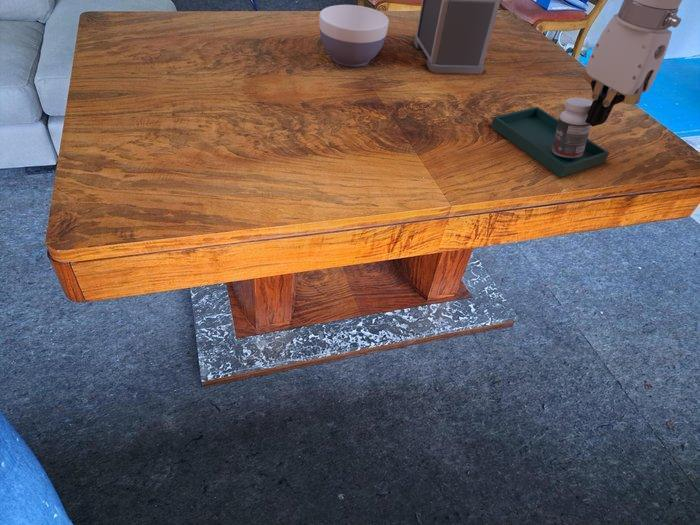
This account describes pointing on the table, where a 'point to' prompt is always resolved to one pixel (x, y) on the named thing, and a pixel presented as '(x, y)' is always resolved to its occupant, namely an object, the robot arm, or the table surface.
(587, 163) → the tray
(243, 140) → the table surface
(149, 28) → the table surface
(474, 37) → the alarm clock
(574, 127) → the pill bottle
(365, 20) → the bowl
